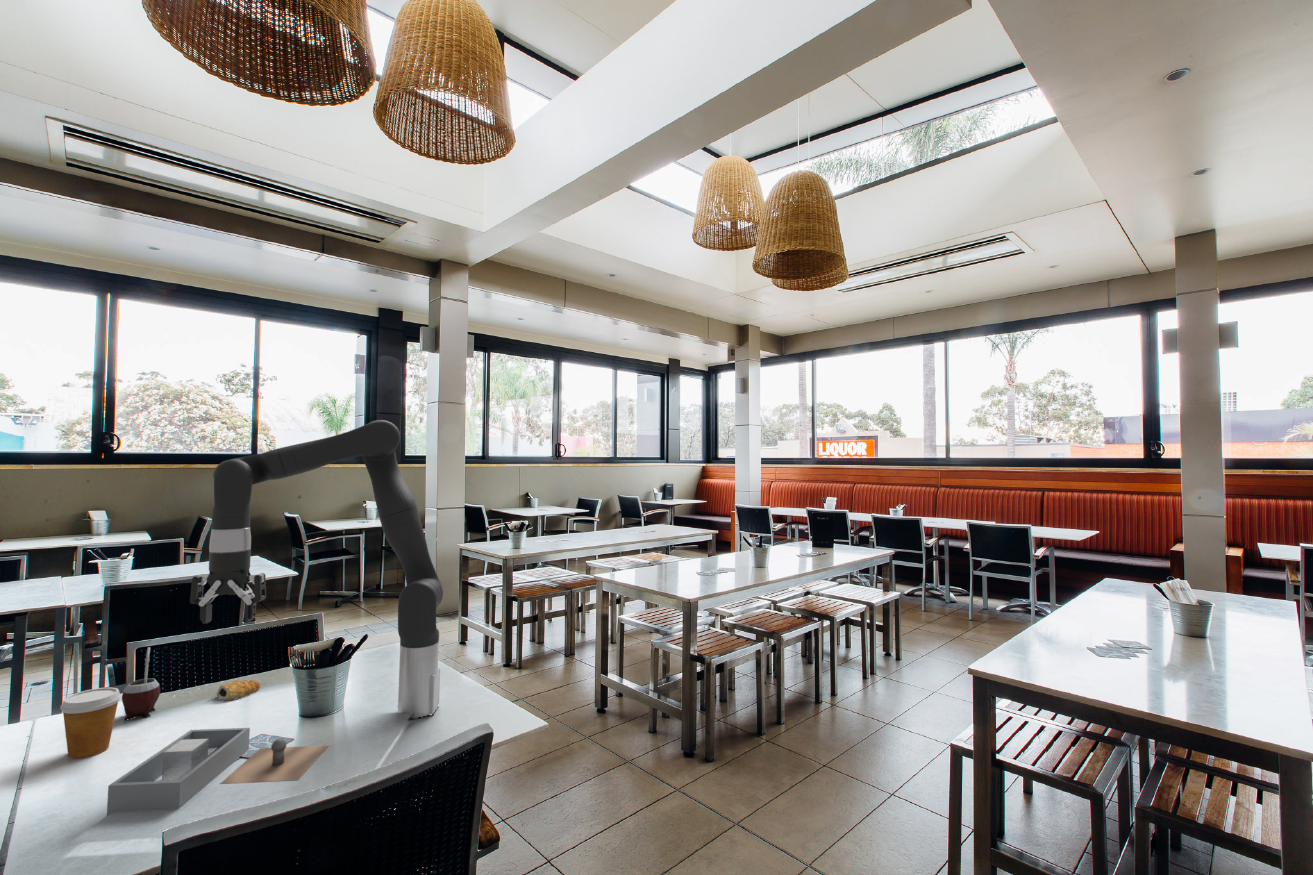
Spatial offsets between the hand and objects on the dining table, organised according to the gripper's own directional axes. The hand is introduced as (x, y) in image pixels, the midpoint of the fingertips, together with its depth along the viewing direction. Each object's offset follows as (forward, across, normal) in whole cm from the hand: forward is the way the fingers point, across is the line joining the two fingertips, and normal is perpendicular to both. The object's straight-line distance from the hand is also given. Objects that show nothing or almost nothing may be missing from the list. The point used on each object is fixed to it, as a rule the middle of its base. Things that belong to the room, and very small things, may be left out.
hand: (227, 621), depth 130 cm
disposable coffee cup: (+27, +27, -1) cm, 38 cm away
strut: (+26, -1, +16) cm, 31 cm away
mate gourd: (+27, +29, -20) cm, 45 cm away
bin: (+27, -2, +16) cm, 31 cm away
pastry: (+28, +13, -31) cm, 43 cm away
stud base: (+27, -17, +12) cm, 34 cm away
